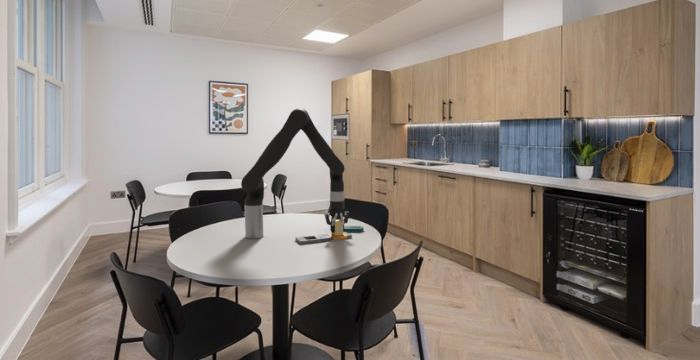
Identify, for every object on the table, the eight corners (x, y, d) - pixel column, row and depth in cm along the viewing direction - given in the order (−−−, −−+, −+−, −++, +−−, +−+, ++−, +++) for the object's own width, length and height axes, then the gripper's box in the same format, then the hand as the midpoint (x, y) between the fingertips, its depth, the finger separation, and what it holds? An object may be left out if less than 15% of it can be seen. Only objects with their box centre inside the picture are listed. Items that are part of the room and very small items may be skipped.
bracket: (331, 232, 217) (331, 218, 216) (331, 229, 223) (331, 216, 222) (363, 232, 217) (363, 218, 216) (363, 229, 224) (363, 216, 223)
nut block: (331, 235, 206) (331, 220, 205) (339, 234, 208) (339, 219, 207) (335, 237, 202) (335, 222, 201) (343, 236, 204) (343, 221, 203)
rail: (295, 240, 200) (295, 237, 199) (345, 234, 212) (345, 231, 212) (300, 244, 192) (300, 241, 192) (351, 238, 205) (351, 235, 204)
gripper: (346, 197, 210) (346, 229, 211) (321, 199, 203) (321, 231, 205) (352, 199, 203) (352, 232, 205) (327, 201, 197) (327, 235, 199)
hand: (337, 231), depth 205 cm, fingers closed on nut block, 4 cm apart
